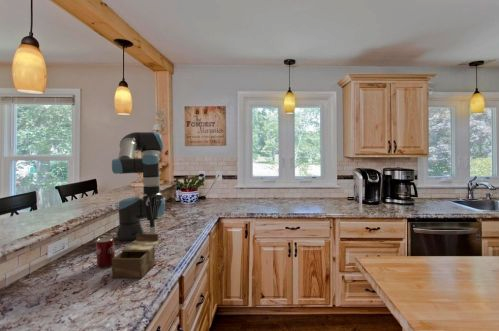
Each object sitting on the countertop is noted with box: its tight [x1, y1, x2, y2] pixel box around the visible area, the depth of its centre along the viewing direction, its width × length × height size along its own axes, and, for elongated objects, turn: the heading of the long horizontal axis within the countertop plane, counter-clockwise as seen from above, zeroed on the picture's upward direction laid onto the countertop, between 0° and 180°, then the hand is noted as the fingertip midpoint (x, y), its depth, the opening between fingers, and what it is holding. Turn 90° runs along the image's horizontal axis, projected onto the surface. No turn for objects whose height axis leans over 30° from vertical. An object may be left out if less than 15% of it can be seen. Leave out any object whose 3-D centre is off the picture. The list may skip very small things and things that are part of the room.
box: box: [111, 247, 156, 280], centre depth 124 cm, size 14×12×8 cm
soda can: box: [95, 236, 116, 270], centre depth 131 cm, size 7×7×12 cm
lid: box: [121, 233, 162, 252], centre depth 132 cm, size 14×12×4 cm
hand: (153, 232), depth 144 cm, fingers closed
